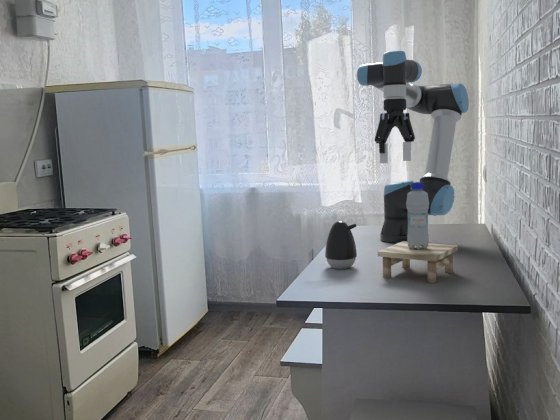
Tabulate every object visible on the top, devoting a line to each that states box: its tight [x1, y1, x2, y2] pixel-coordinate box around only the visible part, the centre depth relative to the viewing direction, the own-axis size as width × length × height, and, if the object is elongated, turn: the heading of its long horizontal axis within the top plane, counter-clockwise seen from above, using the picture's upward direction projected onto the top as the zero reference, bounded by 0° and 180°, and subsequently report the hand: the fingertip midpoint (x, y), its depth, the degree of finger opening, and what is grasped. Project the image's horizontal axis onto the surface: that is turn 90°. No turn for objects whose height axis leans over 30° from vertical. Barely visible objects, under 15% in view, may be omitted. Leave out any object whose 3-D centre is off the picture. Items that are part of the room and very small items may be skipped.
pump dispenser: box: [324, 220, 358, 270], centre depth 197 cm, size 10×10×15 cm
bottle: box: [406, 181, 430, 250], centre depth 182 cm, size 7×7×20 cm
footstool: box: [377, 241, 459, 284], centre depth 184 cm, size 18×18×8 cm
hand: (395, 162), depth 207 cm, fingers open, 13 cm apart
